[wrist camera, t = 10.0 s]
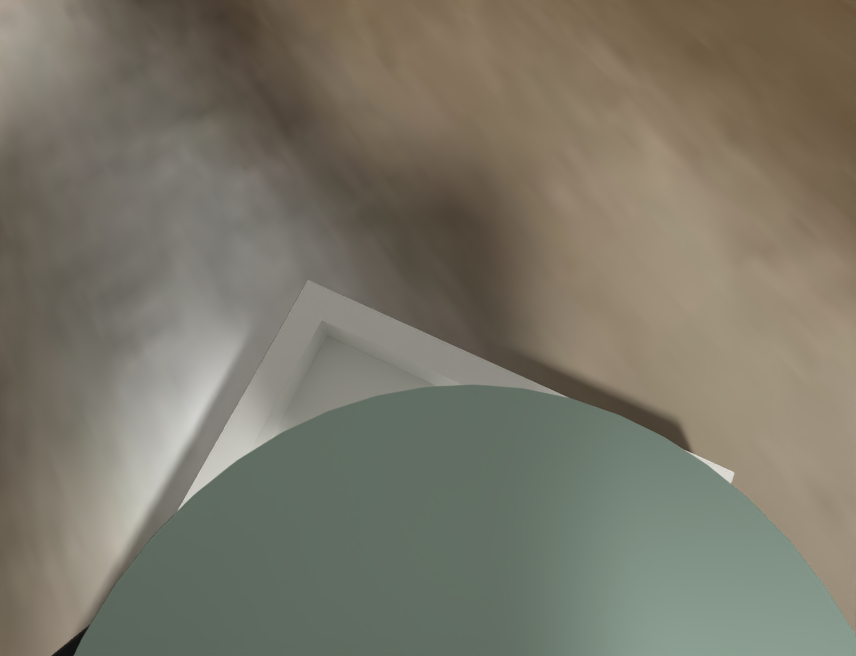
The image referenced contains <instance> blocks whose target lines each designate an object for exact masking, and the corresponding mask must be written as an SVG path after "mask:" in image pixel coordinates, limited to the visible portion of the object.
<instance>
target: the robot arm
mask: <svg viewBox="0 0 856 656" xmlns="http://www.w3.org/2000/svg"><path fill="white" fill-rule="evenodd" d="M90 625H91V624H90ZM90 625H89V626H90ZM89 626H88V627H86V628H85V629H84V630H83V631H81V632H80V633H79V634H78V635H76V636H75V637H74V638H73V639H71V640H70V641H69V642H68V643H67V644H65V645H64V646H63V647H62V648H60V649H59V650H58V651H57V652H55V653H54V654H53V655H52V656H74V654H75V652H76V650H77V648H78V646H79V644H80V641H81V639H82V638H83V636H84V634H85V633H86V631H87V629H88V628H89Z"/></svg>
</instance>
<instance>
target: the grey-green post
mask: <svg viewBox="0 0 856 656" xmlns="http://www.w3.org/2000/svg"><path fill="white" fill-rule="evenodd" d="M74 656H856V635H855V633H854V632H853V630H852V628H851V627H850V625H849V624H848V622H847V620H846V619H845V617H844V616H843V614H842V612H841V611H840V609H839V607H838V606H837V604H836V603H835V601H834V599H833V598H832V596H831V595H830V593H829V591H828V590H827V588H826V587H825V585H824V584H823V583H822V581H821V580H820V579H819V577H818V576H817V575H816V574H815V572H814V571H813V570H812V569H811V567H810V566H809V565H808V563H807V562H806V561H805V560H804V558H803V557H802V556H801V554H800V553H799V552H798V551H797V549H796V548H795V547H794V545H793V544H792V543H791V542H790V540H789V539H788V538H787V537H786V536H785V535H784V534H783V533H782V532H781V531H780V530H779V529H778V528H777V527H776V526H775V525H774V524H773V523H772V522H771V521H770V520H769V519H768V518H767V517H766V516H765V515H764V513H763V512H762V511H761V510H760V509H759V508H758V507H757V506H756V505H755V504H754V503H753V502H752V501H751V500H750V499H749V498H747V497H746V496H745V495H744V494H743V493H741V492H740V491H739V490H738V489H736V488H735V487H734V486H733V485H732V484H730V483H729V482H728V481H727V480H726V479H724V478H723V477H722V476H721V475H719V474H718V473H717V472H716V471H715V470H713V469H712V468H711V467H710V466H708V465H707V464H705V463H704V462H702V461H701V460H699V459H698V458H696V457H695V456H693V455H691V454H690V453H688V452H687V451H685V450H684V449H682V448H681V447H679V446H677V445H676V444H674V443H673V442H671V441H670V440H668V439H667V438H665V437H663V436H661V435H659V434H657V433H655V432H653V431H651V430H649V429H647V428H645V427H643V426H641V425H639V424H637V423H635V422H633V421H630V420H628V419H626V418H624V417H622V416H620V415H618V414H615V413H612V412H609V411H606V410H604V409H601V408H598V407H595V406H592V405H589V404H586V403H583V402H580V401H577V400H574V399H571V398H567V397H562V396H557V395H553V394H548V393H543V392H538V391H533V390H529V389H524V388H513V387H500V386H487V385H475V384H474V385H454V386H433V387H422V388H417V389H411V390H405V391H400V392H394V393H389V394H383V395H378V396H374V397H371V398H368V399H365V400H361V401H358V402H355V403H352V404H349V405H346V406H342V407H339V408H336V409H333V410H330V411H327V412H325V413H323V414H321V415H319V416H316V417H314V418H312V419H310V420H308V421H306V422H303V423H301V424H299V425H297V426H295V427H293V428H290V429H288V430H286V431H284V432H282V433H280V434H279V435H277V436H275V437H274V438H272V439H270V440H269V441H267V442H266V443H264V444H262V445H261V446H259V447H258V448H256V449H254V450H253V451H251V452H249V453H248V454H246V455H245V456H243V457H241V458H240V459H238V460H237V461H235V462H234V463H233V464H232V465H230V466H229V467H228V468H227V469H225V470H224V471H223V472H222V473H220V474H219V475H218V476H217V477H215V478H214V479H213V480H212V481H210V482H209V483H208V484H207V485H205V486H204V487H203V488H202V489H200V490H199V491H198V492H197V493H195V494H194V495H193V496H192V497H191V498H190V499H189V500H188V501H187V502H186V503H185V504H184V505H183V506H182V507H181V508H180V509H179V510H178V511H177V512H176V513H175V514H174V515H173V516H172V517H171V518H170V519H169V520H168V521H167V522H166V523H165V524H164V525H163V526H162V527H161V528H160V529H159V531H158V532H157V533H156V534H155V535H154V536H153V537H152V538H151V539H150V540H149V542H148V543H147V544H146V546H145V547H144V548H143V549H142V551H141V552H140V553H139V555H138V556H137V557H136V558H135V560H134V561H133V562H132V563H131V565H130V566H129V567H128V569H127V570H126V571H125V572H124V574H123V575H122V576H121V578H120V579H119V580H118V581H117V583H116V584H115V585H114V587H113V589H112V590H111V592H110V594H109V595H108V597H107V599H106V600H105V602H104V603H103V605H102V607H101V608H100V610H99V612H98V613H97V615H96V616H95V618H94V620H93V621H92V623H91V625H90V626H89V628H88V629H87V631H86V633H85V634H84V636H83V638H82V639H81V641H80V644H79V646H78V648H77V650H76V652H75V654H74Z"/></svg>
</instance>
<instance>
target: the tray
mask: <svg viewBox="0 0 856 656" xmlns="http://www.w3.org/2000/svg"><path fill="white" fill-rule="evenodd" d="M474 384H475V385H487V386H500V387H513V388H524V389H529V390H533V391H538V392H543V393H548V394H553V395H557V396H562V397H566V396H564V395H562V394H560V393H557V392H555V391H553V390H551V389H549V388H546V387H544V386H542V385H540V384H538V383H535V382H533V381H531V380H529V379H526V378H524V377H522V376H520V375H518V374H515V373H513V372H511V371H509V370H507V369H504V368H502V367H500V366H498V365H496V364H493V363H491V362H489V361H487V360H484V359H482V358H480V357H478V356H476V355H473V354H471V353H469V352H467V351H465V350H462V349H460V348H458V347H456V346H454V345H451V344H449V343H447V342H445V341H443V340H440V339H438V338H436V337H434V336H431V335H429V334H427V333H425V332H423V331H420V330H418V329H416V328H414V327H412V326H409V325H407V324H405V323H403V322H401V321H398V320H396V319H394V318H392V317H389V316H387V315H385V314H383V313H381V312H378V311H376V310H374V309H372V308H370V307H367V306H365V305H363V304H361V303H359V302H356V301H354V300H352V299H350V298H347V297H345V296H343V295H341V294H339V293H336V292H334V291H332V290H330V289H328V288H325V287H323V286H321V285H319V284H317V283H314V282H312V281H310V280H307V282H306V284H305V286H304V287H303V289H302V291H301V293H300V294H299V296H298V298H297V300H296V302H295V303H294V305H293V307H292V309H291V310H290V312H289V314H288V316H287V317H286V319H285V321H284V323H283V325H282V326H281V328H280V330H279V332H278V333H277V335H276V337H275V339H274V341H273V342H272V344H271V346H270V348H269V349H268V351H267V353H266V355H265V356H264V358H263V360H262V362H261V364H260V365H259V367H258V369H257V371H256V372H255V374H254V376H253V378H252V379H251V381H250V383H249V385H248V387H247V388H246V390H245V392H244V394H243V395H242V397H241V399H240V401H239V402H238V404H237V406H236V408H235V410H234V411H233V413H232V415H231V417H230V418H229V420H228V422H227V424H226V425H225V427H224V429H223V431H222V433H221V434H220V436H219V438H218V440H217V441H216V443H215V445H214V447H213V449H212V450H211V452H210V454H209V456H208V457H207V459H206V461H205V463H204V464H203V466H202V468H201V470H200V472H199V473H198V475H197V477H196V479H195V480H194V482H193V484H192V486H191V487H190V489H189V491H188V493H187V495H186V496H185V498H184V500H183V502H182V503H181V505H180V507H179V509H180V508H181V507H182V506H183V505H184V504H185V503H186V502H187V501H188V500H189V499H190V498H191V497H192V496H193V495H194V494H195V493H197V492H198V491H199V490H200V489H202V488H203V487H204V486H205V485H207V484H208V483H209V482H210V481H212V480H213V479H214V478H215V477H217V476H218V475H219V474H220V473H222V472H223V471H224V470H225V469H227V468H228V467H229V466H230V465H232V464H233V463H234V462H235V461H237V460H238V459H240V458H241V457H243V456H245V455H246V454H248V453H249V452H251V451H253V450H254V449H256V448H258V447H259V446H261V445H262V444H264V443H266V442H267V441H269V440H270V439H272V438H274V437H275V436H277V435H279V434H280V433H282V432H284V431H286V430H288V429H290V428H293V427H295V426H297V425H299V424H301V423H303V422H306V421H308V420H310V419H312V418H314V417H316V416H319V415H321V414H323V413H325V412H327V411H330V410H333V409H336V408H339V407H342V406H346V405H349V404H352V403H355V402H358V401H361V400H365V399H368V398H371V397H374V396H378V395H383V394H389V393H394V392H400V391H405V390H411V389H417V388H422V387H433V386H454V385H474ZM567 398H568V397H567ZM685 451H686V450H685ZM687 452H688V451H687ZM688 453H690V452H688ZM690 454H691V455H693V456H695V457H696V458H698V459H699V460H701V461H702V462H704V463H705V464H707V465H708V466H710V467H711V468H712V469H713V470H715V471H716V472H717V473H718V474H719V475H721V476H722V477H723V478H724V479H726V480H727V481H728V482H729V483H730V484H731V482H732V479H733V476H734V472H732V471H730V470H728V469H725V468H723V467H721V466H719V465H717V464H714V463H712V462H710V461H708V460H705V459H703V458H701V457H699V456H697V455H694V454H692V453H690ZM179 509H178V510H179ZM178 510H177V511H178Z"/></svg>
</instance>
